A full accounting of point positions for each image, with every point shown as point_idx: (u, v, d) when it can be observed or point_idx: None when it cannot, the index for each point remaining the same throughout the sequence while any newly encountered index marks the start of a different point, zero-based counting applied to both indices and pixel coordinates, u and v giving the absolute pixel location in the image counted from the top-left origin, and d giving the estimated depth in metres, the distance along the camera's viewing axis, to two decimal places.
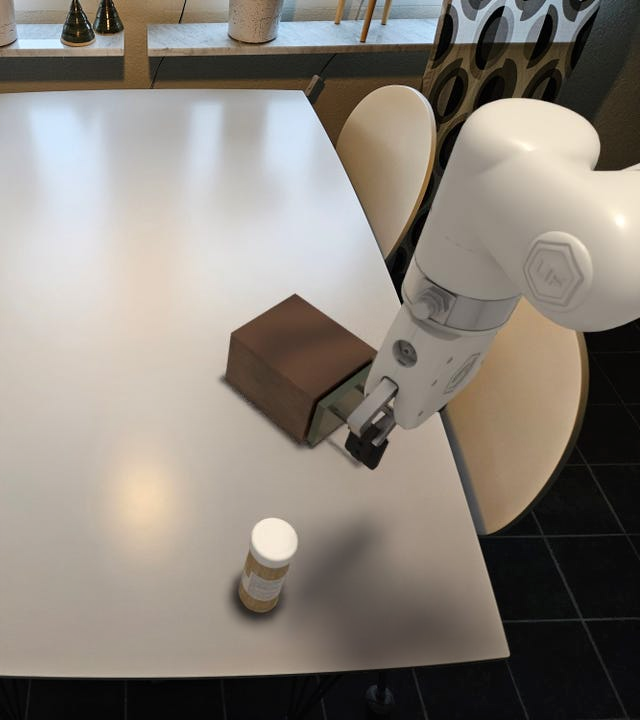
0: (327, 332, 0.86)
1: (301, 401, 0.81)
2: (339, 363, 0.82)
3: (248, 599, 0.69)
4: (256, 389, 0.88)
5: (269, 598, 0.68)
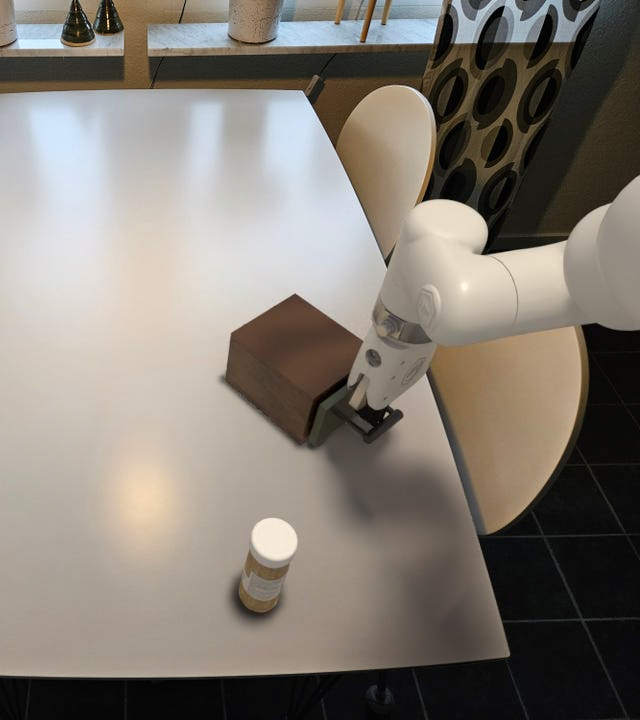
0: (327, 332, 0.86)
1: (301, 401, 0.81)
2: (339, 363, 0.82)
3: (248, 599, 0.69)
4: (256, 389, 0.88)
5: (269, 598, 0.68)
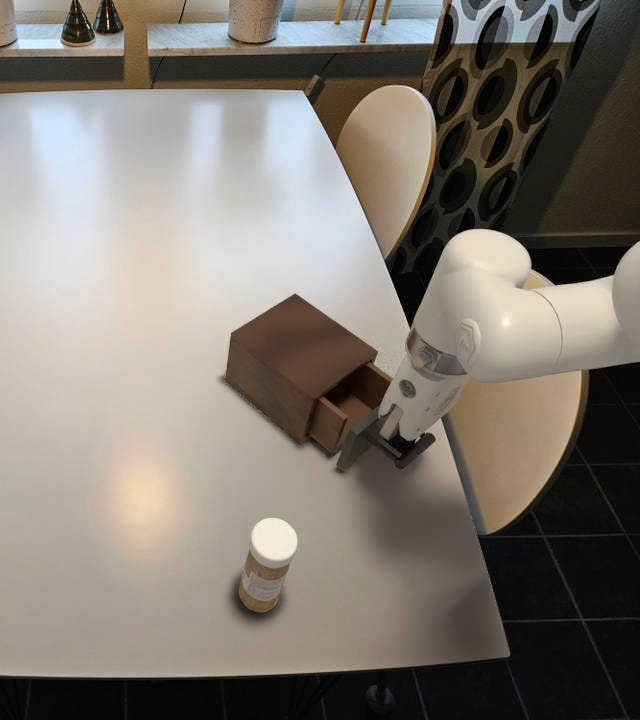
0: (327, 332, 0.86)
1: (301, 401, 0.81)
2: (339, 363, 0.82)
3: (248, 599, 0.69)
4: (256, 389, 0.88)
5: (269, 598, 0.68)
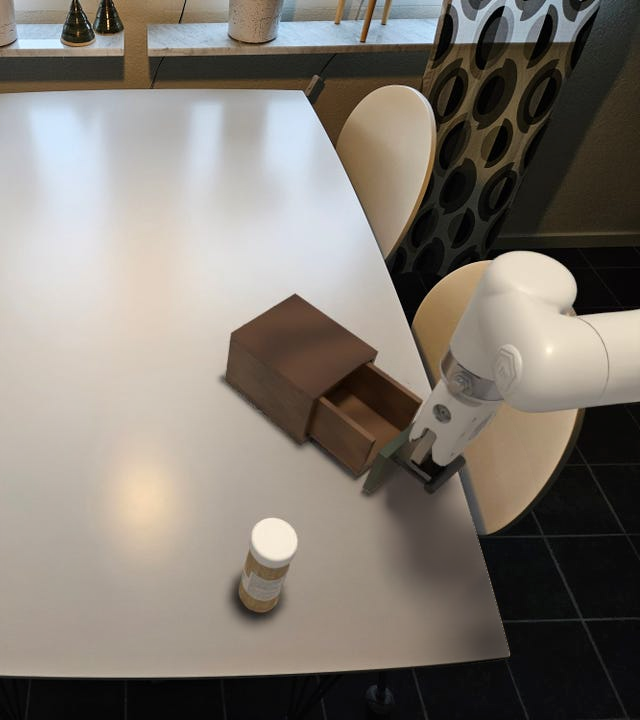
0: (327, 332, 0.86)
1: (301, 401, 0.81)
2: (339, 363, 0.82)
3: (248, 599, 0.69)
4: (256, 389, 0.88)
5: (269, 598, 0.68)
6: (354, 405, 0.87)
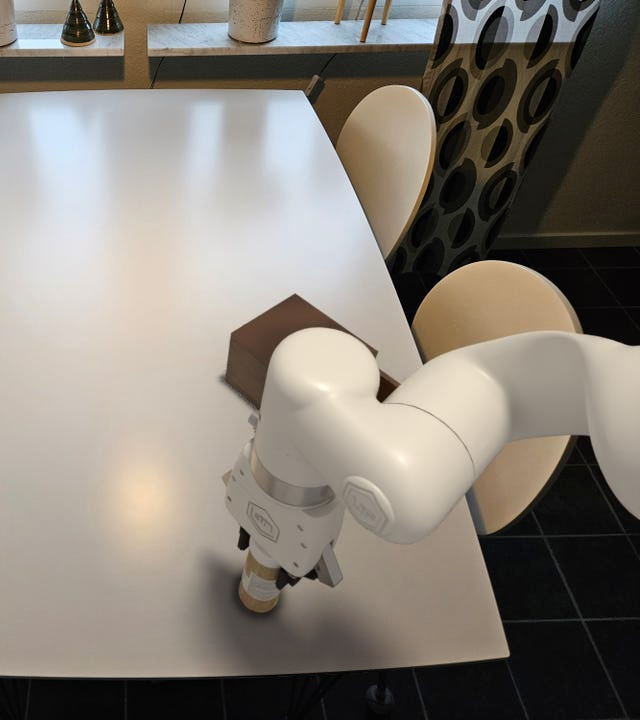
0: None
1: None
2: None
3: (248, 599, 0.69)
4: (256, 389, 0.88)
5: (269, 598, 0.68)
6: None
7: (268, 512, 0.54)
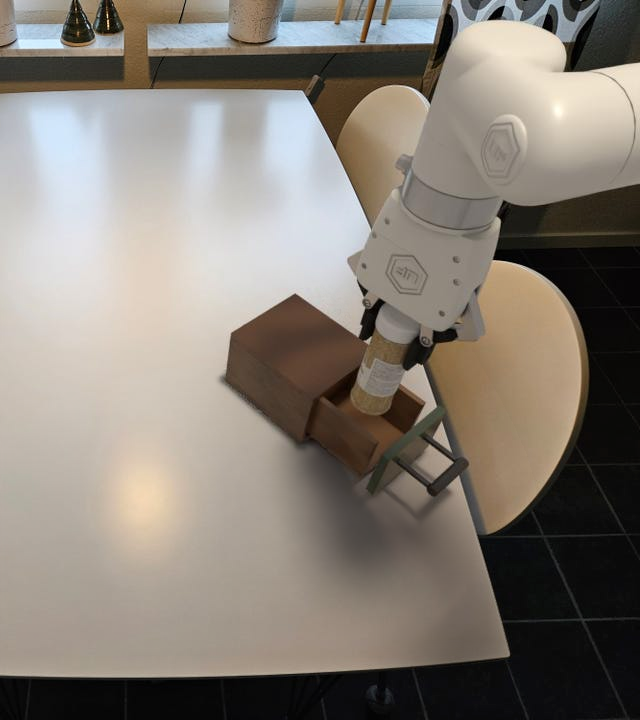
0: (327, 332, 0.86)
1: (301, 401, 0.81)
2: (339, 363, 0.82)
3: (364, 399, 0.69)
4: (256, 389, 0.88)
5: (388, 393, 0.68)
6: None
7: (416, 256, 0.54)
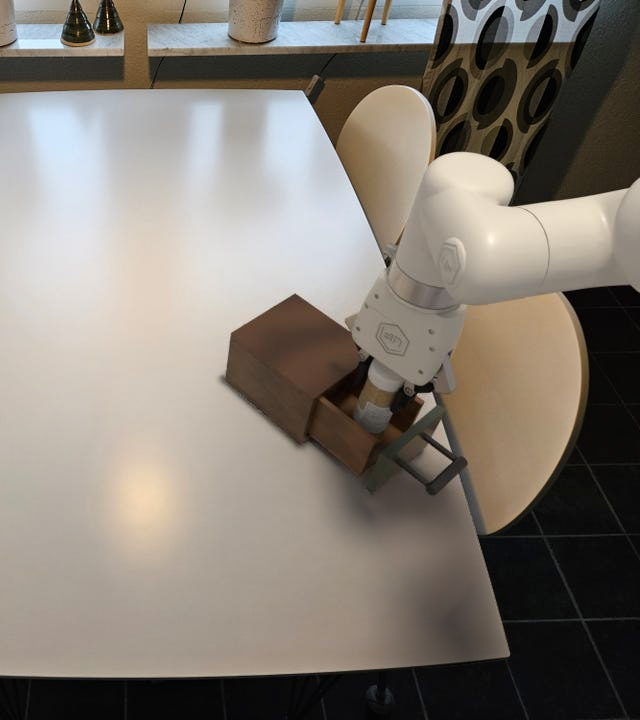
0: (327, 332, 0.86)
1: (301, 401, 0.81)
2: (339, 363, 0.82)
3: None
4: (256, 389, 0.88)
5: (378, 430, 0.80)
6: None
7: (400, 326, 0.67)
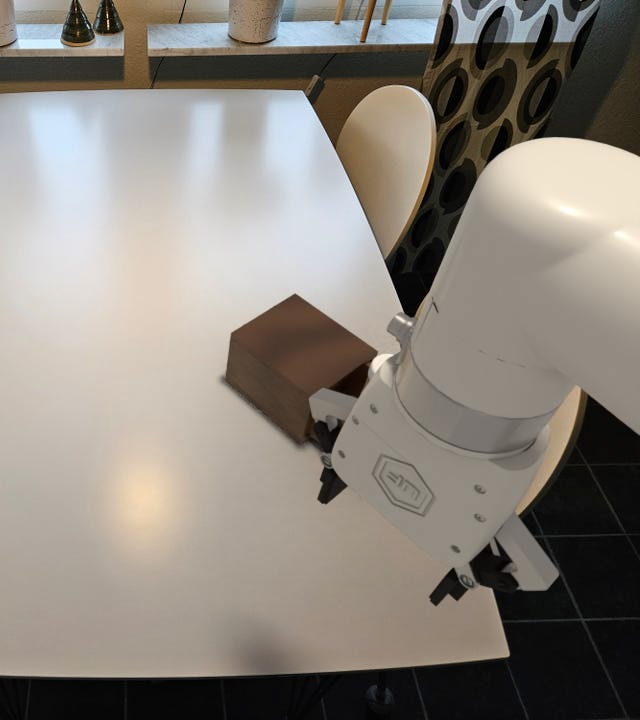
0: (327, 332, 0.86)
1: (301, 401, 0.81)
2: (339, 363, 0.82)
3: None
4: (256, 389, 0.88)
5: None
6: None
7: (418, 468, 0.35)
